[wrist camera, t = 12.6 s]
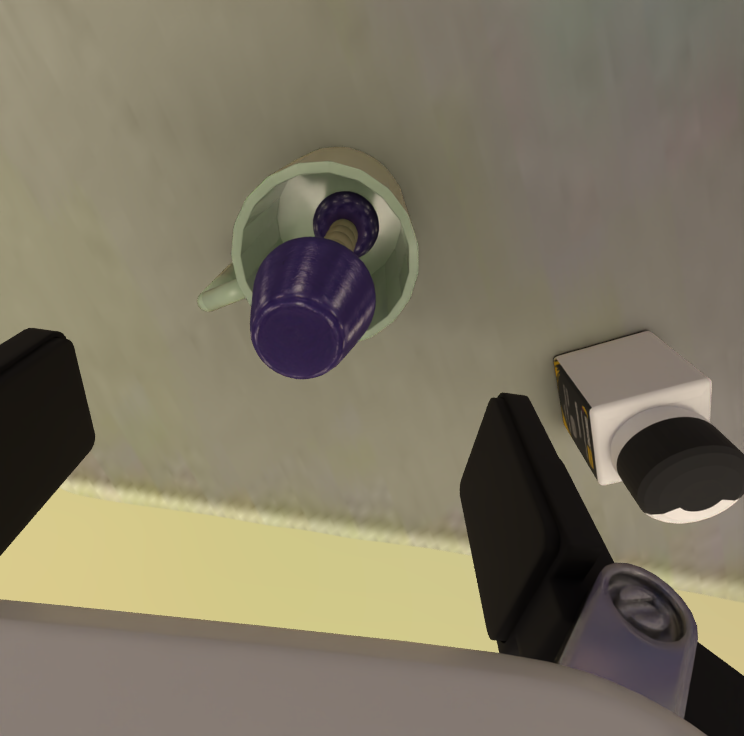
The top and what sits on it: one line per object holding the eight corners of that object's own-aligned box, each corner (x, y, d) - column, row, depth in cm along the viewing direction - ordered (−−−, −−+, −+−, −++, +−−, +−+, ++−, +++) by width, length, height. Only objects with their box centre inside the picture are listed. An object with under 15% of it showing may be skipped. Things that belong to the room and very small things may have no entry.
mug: (377, 121, 25) (378, 126, 17) (424, 258, 29) (441, 313, 21) (202, 201, 27) (132, 237, 20) (267, 317, 32) (231, 386, 24)
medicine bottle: (551, 355, 33) (630, 466, 23) (649, 327, 32) (781, 432, 21) (562, 425, 36) (636, 548, 26) (652, 402, 35) (766, 523, 25)
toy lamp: (311, 262, 29) (246, 411, 15) (297, 188, 26) (203, 278, 12) (382, 255, 29) (388, 399, 14) (374, 179, 26) (372, 261, 12)
